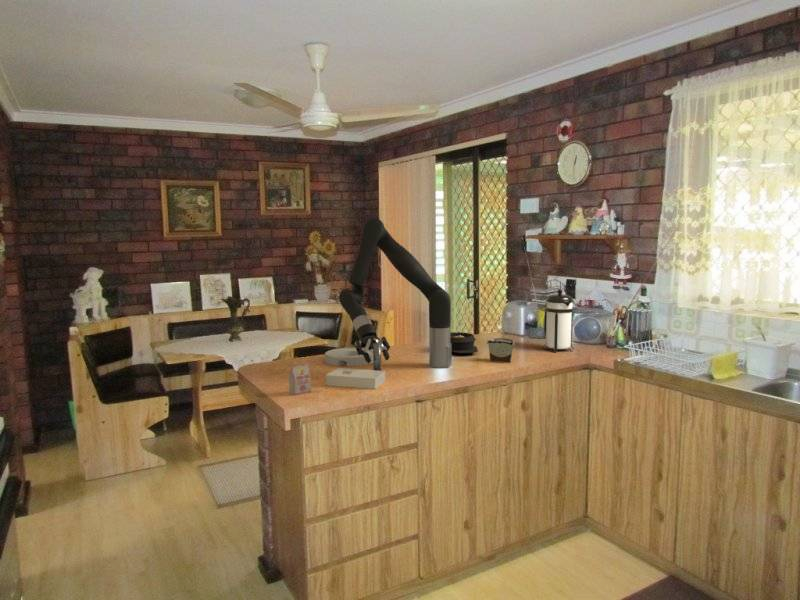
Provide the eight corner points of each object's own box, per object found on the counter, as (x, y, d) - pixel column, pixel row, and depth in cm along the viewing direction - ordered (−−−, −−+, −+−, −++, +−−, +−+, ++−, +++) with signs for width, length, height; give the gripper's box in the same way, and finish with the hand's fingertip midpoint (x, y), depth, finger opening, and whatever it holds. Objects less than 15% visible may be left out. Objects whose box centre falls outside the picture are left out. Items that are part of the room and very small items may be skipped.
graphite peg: (382, 376, 232) (382, 342, 230) (379, 378, 229) (379, 344, 227) (375, 375, 233) (374, 342, 231) (372, 377, 230) (371, 343, 228)
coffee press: (578, 348, 285) (580, 288, 281) (569, 354, 271) (570, 291, 268) (544, 345, 294) (545, 287, 290) (533, 350, 281) (535, 289, 277)
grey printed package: (289, 393, 208) (288, 366, 207) (305, 390, 213) (305, 363, 211) (294, 395, 206) (293, 368, 204) (310, 392, 210) (310, 365, 209)
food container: (517, 360, 259) (517, 338, 258) (513, 363, 254) (514, 341, 252) (490, 358, 264) (490, 336, 263) (486, 360, 259) (487, 339, 258)
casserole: (487, 355, 271) (487, 337, 270) (451, 358, 265) (451, 340, 264) (464, 345, 295) (464, 329, 294) (431, 348, 288) (431, 331, 287)
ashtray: (385, 362, 258) (385, 353, 258) (339, 369, 246) (338, 360, 246) (360, 353, 278) (360, 345, 277) (317, 359, 266) (316, 351, 265)
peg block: (385, 381, 225) (385, 371, 224) (375, 388, 213) (375, 378, 213) (338, 377, 231) (338, 368, 230) (326, 385, 219) (325, 375, 219)
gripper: (352, 324, 231) (366, 357, 223) (382, 321, 239) (397, 353, 230) (346, 335, 236) (360, 368, 228) (375, 332, 244) (390, 363, 235)
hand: (378, 360), depth 229 cm, fingers open, 8 cm apart
